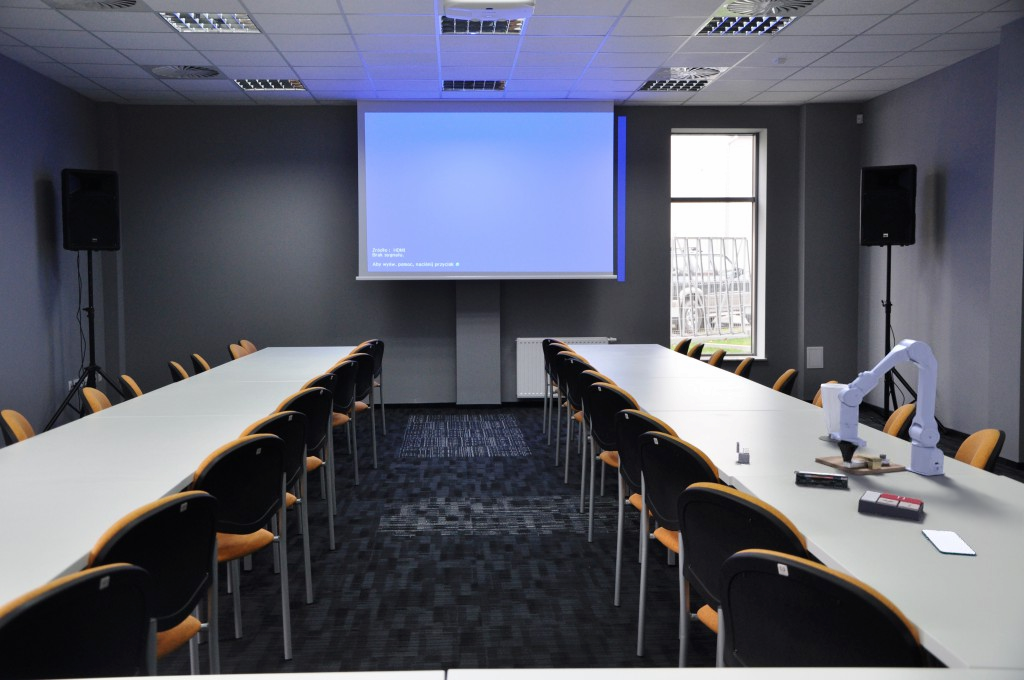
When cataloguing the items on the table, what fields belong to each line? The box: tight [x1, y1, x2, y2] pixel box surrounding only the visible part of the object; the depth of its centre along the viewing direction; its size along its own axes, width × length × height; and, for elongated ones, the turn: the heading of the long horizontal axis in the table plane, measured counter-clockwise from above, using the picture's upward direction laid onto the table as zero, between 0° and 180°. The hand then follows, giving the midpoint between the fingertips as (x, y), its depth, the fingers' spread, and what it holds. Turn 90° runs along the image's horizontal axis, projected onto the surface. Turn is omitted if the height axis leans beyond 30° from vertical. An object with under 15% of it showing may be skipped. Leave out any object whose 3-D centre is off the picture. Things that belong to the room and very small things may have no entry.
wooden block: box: [857, 453, 881, 469], centre depth 261 cm, size 7×4×3 cm, turn 19°
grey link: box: [844, 457, 891, 468], centre depth 262 cm, size 17×4×2 cm, turn 109°
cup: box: [818, 383, 848, 443], centre depth 310 cm, size 12×12×22 cm
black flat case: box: [793, 470, 849, 490], centre depth 241 cm, size 14×25×4 cm, turn 71°
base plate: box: [814, 453, 907, 476], centre depth 268 cm, size 20×20×4 cm
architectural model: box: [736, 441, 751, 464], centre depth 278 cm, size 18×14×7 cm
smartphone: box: [920, 529, 977, 557], centre depth 190 cm, size 8×1×16 cm
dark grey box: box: [857, 490, 925, 522], centre depth 216 cm, size 11×4×15 cm
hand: (847, 463), depth 262 cm, fingers closed
